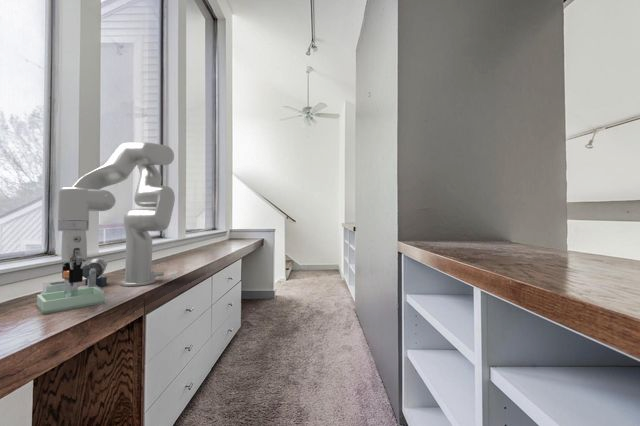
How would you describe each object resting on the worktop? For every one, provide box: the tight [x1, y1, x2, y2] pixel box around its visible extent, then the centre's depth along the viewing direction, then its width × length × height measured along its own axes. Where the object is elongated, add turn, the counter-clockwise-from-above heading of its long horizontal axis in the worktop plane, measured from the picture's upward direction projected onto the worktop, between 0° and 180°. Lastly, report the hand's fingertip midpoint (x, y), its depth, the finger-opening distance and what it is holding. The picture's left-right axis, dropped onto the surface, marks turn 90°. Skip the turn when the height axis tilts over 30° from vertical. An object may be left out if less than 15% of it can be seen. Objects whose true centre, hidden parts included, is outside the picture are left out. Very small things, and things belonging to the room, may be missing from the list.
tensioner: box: [40, 262, 103, 294], centre depth 103 cm, size 16×9×11 cm, turn 141°
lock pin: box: [62, 270, 79, 298], centre depth 92 cm, size 4×4×10 cm
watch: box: [84, 258, 108, 288], centre depth 117 cm, size 6×8×11 cm
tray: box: [36, 287, 106, 315], centre depth 92 cm, size 15×12×4 cm
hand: (72, 280), depth 92 cm, fingers open, 9 cm apart
